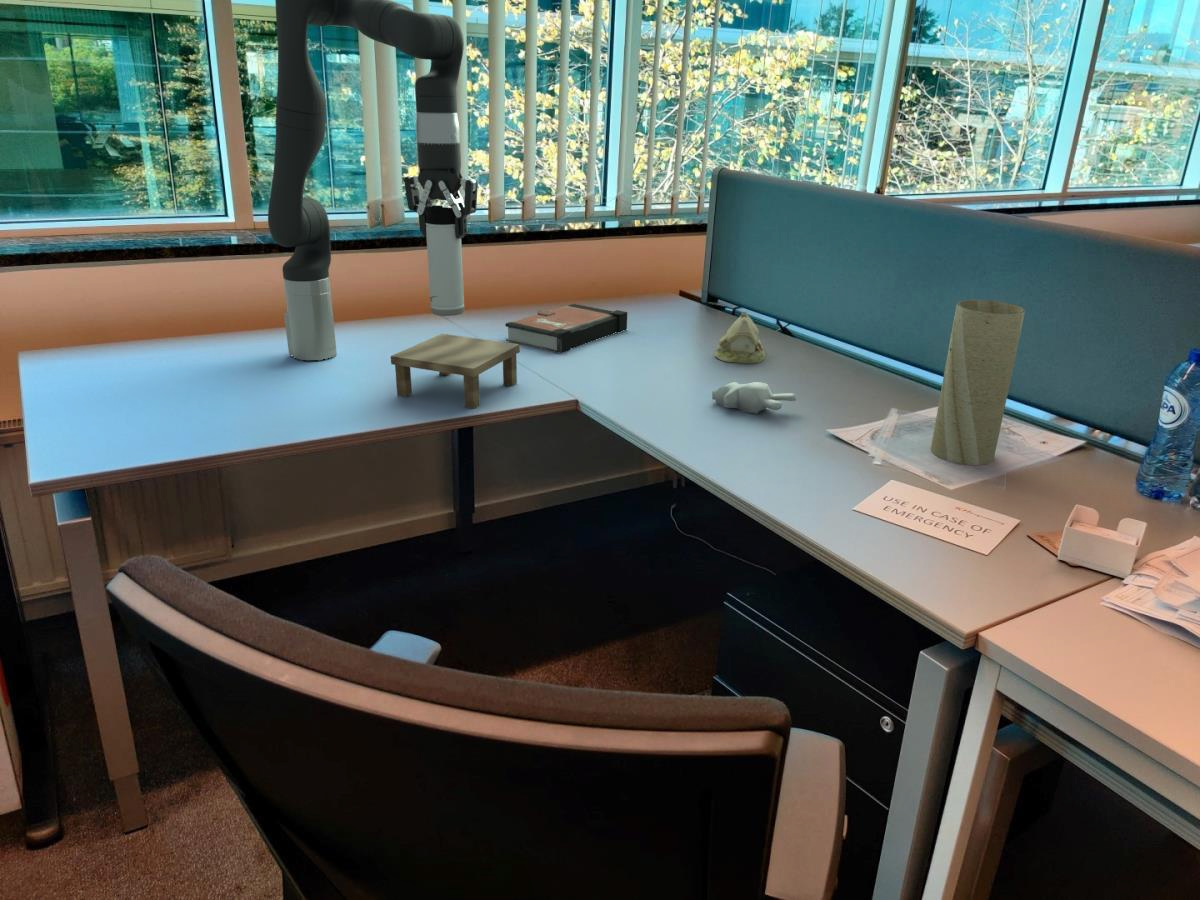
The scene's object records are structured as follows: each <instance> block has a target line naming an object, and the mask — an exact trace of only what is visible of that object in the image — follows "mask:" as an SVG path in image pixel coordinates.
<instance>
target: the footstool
mask: <svg viewBox="0 0 1200 900" xmlns="http://www.w3.org/2000/svg"><path fill="white" fill-rule="evenodd" d="M520 345H521V344H519V343H514V342H507V341H506V342H505V341H498V340H497V341H496V340H489V339H482V338H477V337H468V336H461V335H453V334H447V333H440V334H438V335H436V336H434V337H431V338H428V339H427V340H425V341H422V342H420V343H418V344H415V345H413V346H411V347H408V348H406V349H403V350H401V351H399V352H396V353H394V354H392V355H390V364H391V365H394V370H395V382H396V395H397V396H398V397H403V398H407V397H409V396H412V395H413V388H412V375H411V373H412V372H411V368H413V369H420V370H426V371H432V372H439V375H442V376H447V377H448V376H451V375H457V376H463V391H464V392H463V394H464V397H463V398H464V407H465V408H468V409H472V410H473V409H477V408H478V407H480V405H481V403H480V380H479V379H480V377H479V376H480V374H482V373H484V372H486V371H488V370H490V369H492V368H493V367H496V366H497V365H498V364H501V363H502V375H503V376H502V378H503V379H502V380H503V381H502V383H503V385H505V386H510V387H511V386H514V385H515V384H517V383H518V377H517V376H518V372H517V367H518V366H517V365H518V363H517V354H519V353H520V352H521V350H520V347H521V346H520Z"/></svg>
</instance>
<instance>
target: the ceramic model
mask: <svg viewBox="0 0 1200 900" xmlns="http://www.w3.org/2000/svg"><path fill="white" fill-rule="evenodd" d="M759 335H760V331H759V328H758V327H757V325H756V324H755V322H754V321H753V319H752V318H751V317H750V316H749V314H748V313H747V311H742V312H741V314H740V316H739V317H738V318H737V319H736V320H735V321H734V322H733V323H732V324H731V326H730V327H729V328H728V329H727V331H726V333H725V334H723V335H722V337H720V338H719V341H718V344H719V346H720V347H718V348H717V349H716V352H715V353H714V357H715V358H717V359H719V360H721V362H726V363H741V364H742V363H743V364H744V363H745V364H756V363H761V362H763V361H764V360H765V359H766V354H765V349H764V346H763V344H762V341H761V339H760V338H759Z"/></svg>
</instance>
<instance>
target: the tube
mask: <svg viewBox="0 0 1200 900" xmlns="http://www.w3.org/2000/svg"><path fill="white" fill-rule="evenodd" d="M1025 315H1026V309H1025V308H1024V307H1022V306H1020V305H1017V304H1014V303H1009V302H1006V301H1000V300H999V301H998V300H990V299H989V300H988V299H964V300H960V301H957V303H956V306H955V312H954V317H953V322H952V329H951V335H950V340H949V344H948V345H949V346H948V351H947V356H946V362H945V367H944V372H943V379H942V383H941V391H940V394H939V395H940V396H939V401H938V406H937V412H936V417H935V424H934V427H933V432H932V438H931V439H932V440H931V444H930V451H931V453H932V454H933V455H934V456H936V457H938V458H939V459H942V460H944V461H948V462H951V463H954V464H955V463H956V464H961V465H968V466H982V465H987V464H990V463H992V462H993V461H994V459H995V456H996V451H997V445H998V441H999V437H1000V432H1001V427H1002V423H1003V417H1004V413H1005V410H1006V409H1005V408H1006V403H1007V400H1008V399H1007V398H1008V395H1009V390H1010V385H1011V381H1012V375H1013V371H1014V366H1015V361H1016V357H1017V351H1018V346H1019V342H1020V339H1021V333H1022V330H1023V329H1022V328H1023V323H1024V320H1025Z"/></svg>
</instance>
